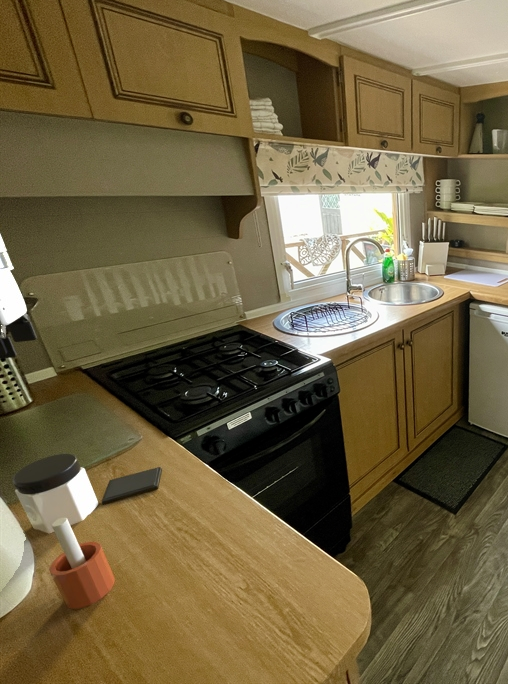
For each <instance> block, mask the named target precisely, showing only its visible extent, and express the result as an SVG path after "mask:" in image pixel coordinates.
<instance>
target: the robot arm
mask: <svg viewBox="0 0 508 684" xmlns="http://www.w3.org/2000/svg"><path fill="white" fill-rule="evenodd" d="M14 269H15V268H14V265H13V262H12V260H11V257H10V255H9V252H8V249H7V248H6V245H5V242H4V240H3V237H2V235H1V233H0V360H5V359H12V358H16V357H17V356H18V354H17V350H16V349H15V346H14V344H13V342H14V343H22V342H30V341H36V340H37V339H38V336H37V334H36V331H35V329H34V326H33V323H32V321H31V318H30V316H29V314H27V312H28V309H27V305H26V302H25V299H24V297H23V295H22V293H21V289H20V288H19V286H18V283H17V281H16V280H15V277H14V275H13V274H12V272H11V271H12V270H14ZM7 328H8V331H9V333H10V335H11V337H10V336H7ZM11 338H12V339H11ZM12 340H13V342H12Z"/></svg>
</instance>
